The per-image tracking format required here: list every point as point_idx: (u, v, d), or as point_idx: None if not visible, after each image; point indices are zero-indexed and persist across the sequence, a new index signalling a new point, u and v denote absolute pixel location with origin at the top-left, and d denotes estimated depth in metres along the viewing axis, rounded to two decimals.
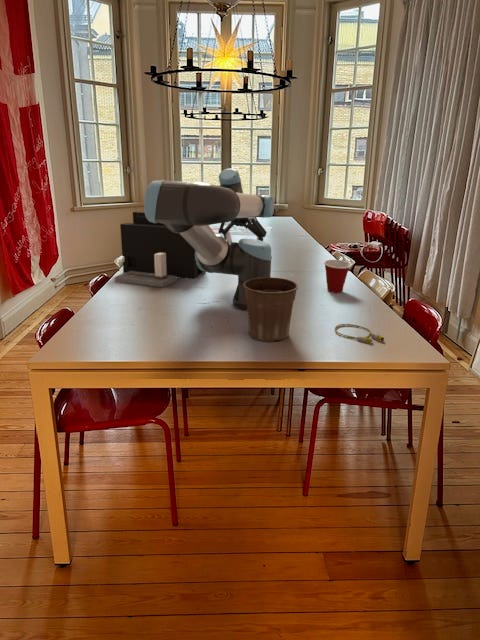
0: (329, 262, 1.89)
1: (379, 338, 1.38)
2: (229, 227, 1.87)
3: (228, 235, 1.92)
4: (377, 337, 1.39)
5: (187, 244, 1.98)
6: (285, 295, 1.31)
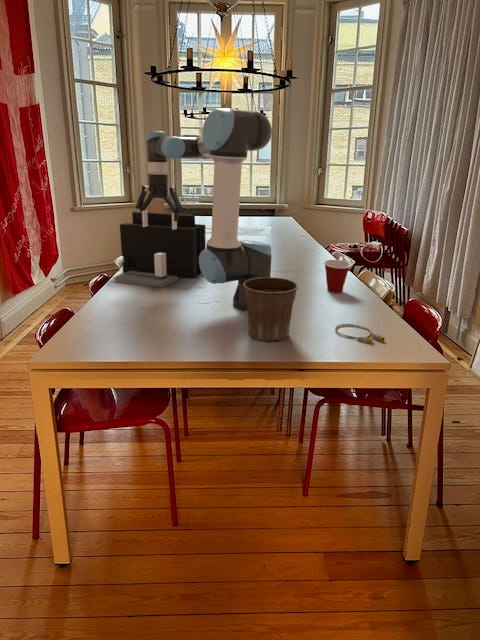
0: (329, 262, 1.89)
1: (380, 338, 1.38)
2: (147, 199, 1.86)
3: (145, 213, 1.89)
4: (378, 337, 1.39)
5: (187, 244, 1.98)
6: (285, 295, 1.31)
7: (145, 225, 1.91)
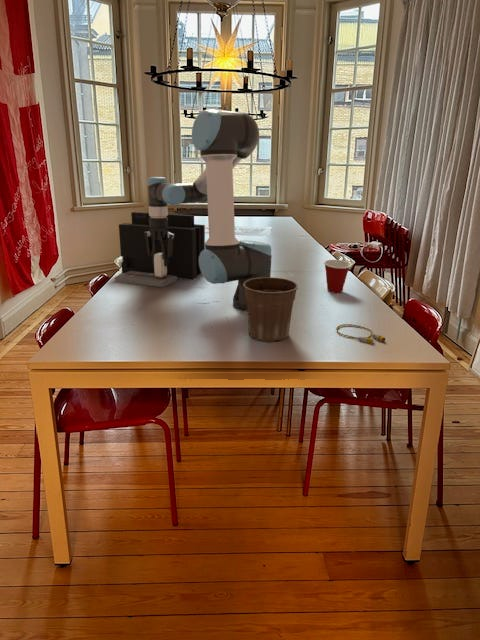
0: (329, 262, 1.89)
1: (380, 338, 1.38)
2: (153, 244, 1.91)
3: None
4: (378, 337, 1.38)
5: (186, 244, 1.98)
6: (285, 295, 1.31)
7: None
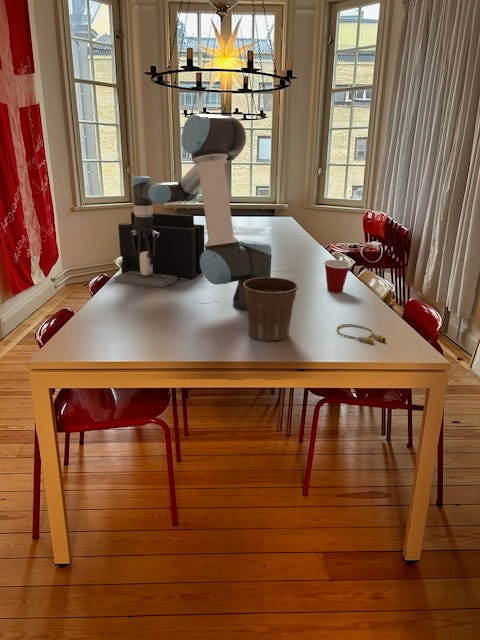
0: (329, 262, 1.89)
1: (381, 338, 1.38)
2: (139, 243, 1.93)
3: None
4: (379, 337, 1.38)
5: (185, 244, 1.97)
6: (285, 295, 1.31)
7: None
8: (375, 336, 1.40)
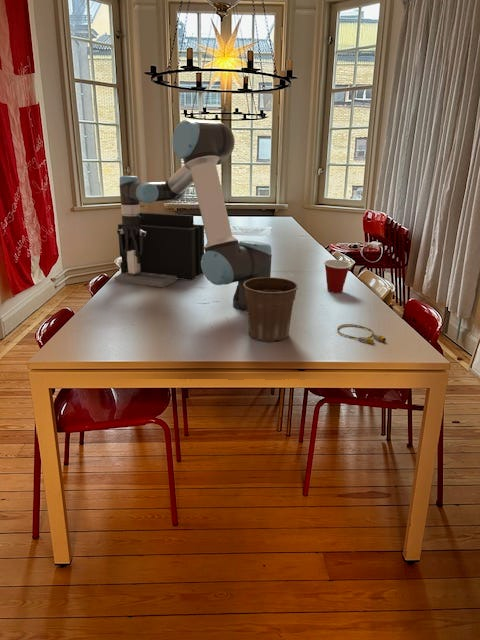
0: (329, 262, 1.89)
1: (381, 339, 1.38)
2: (126, 242, 1.95)
3: None
4: (379, 338, 1.38)
5: (185, 245, 1.97)
6: (285, 295, 1.31)
7: None
8: (375, 336, 1.40)
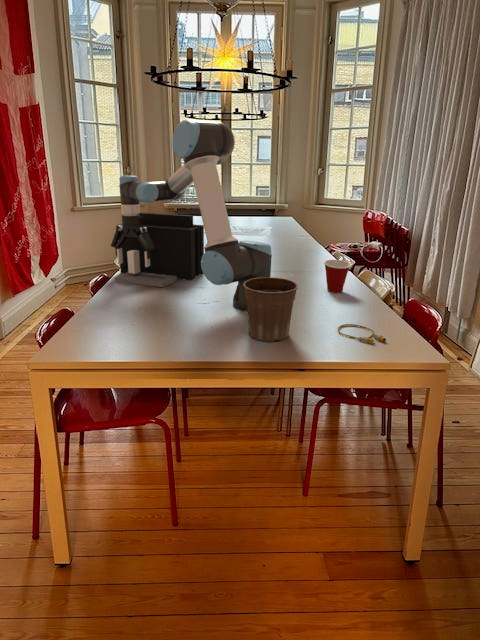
0: (329, 262, 1.89)
1: (381, 339, 1.38)
2: (121, 238, 1.95)
3: (119, 251, 1.99)
4: (379, 338, 1.38)
5: (185, 245, 1.97)
6: (285, 295, 1.31)
7: (120, 262, 2.00)
8: (376, 336, 1.40)
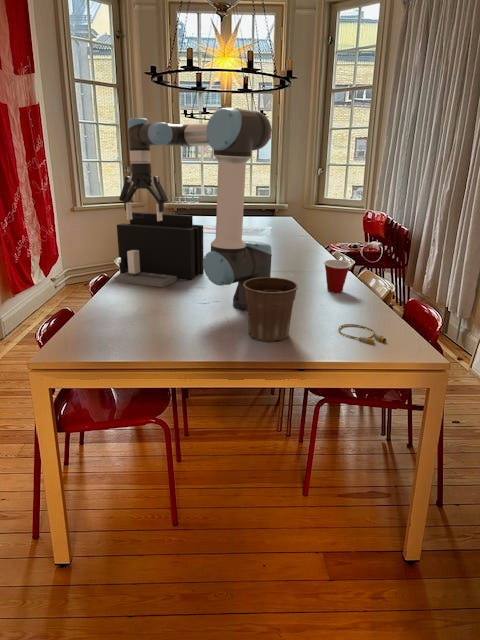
0: (329, 262, 1.89)
1: (381, 339, 1.37)
2: (130, 190, 1.78)
3: (129, 205, 1.82)
4: (379, 338, 1.38)
5: (184, 245, 1.96)
6: (285, 295, 1.31)
7: (129, 218, 1.83)
8: (376, 336, 1.39)
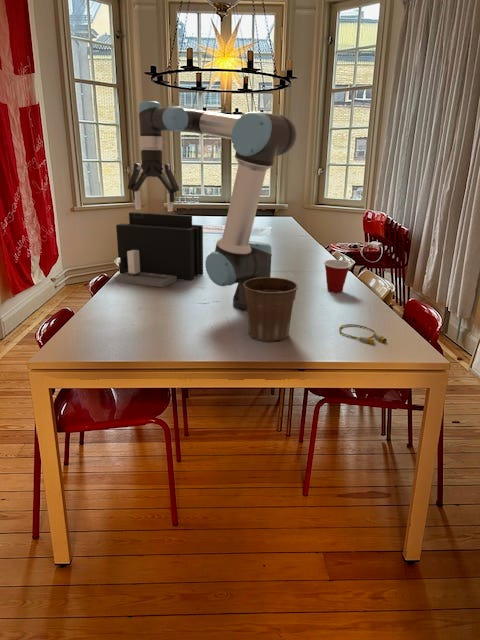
0: (329, 262, 1.89)
1: (381, 339, 1.37)
2: (140, 178, 1.69)
3: (137, 194, 1.72)
4: (380, 338, 1.38)
5: (183, 245, 1.96)
6: (285, 295, 1.31)
7: (138, 207, 1.74)
8: (376, 337, 1.39)
